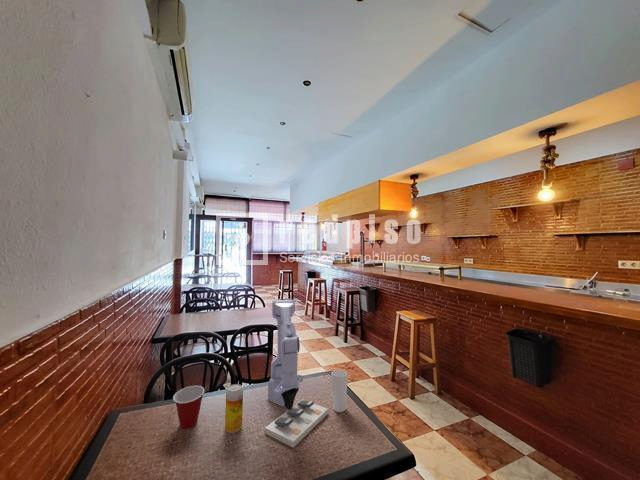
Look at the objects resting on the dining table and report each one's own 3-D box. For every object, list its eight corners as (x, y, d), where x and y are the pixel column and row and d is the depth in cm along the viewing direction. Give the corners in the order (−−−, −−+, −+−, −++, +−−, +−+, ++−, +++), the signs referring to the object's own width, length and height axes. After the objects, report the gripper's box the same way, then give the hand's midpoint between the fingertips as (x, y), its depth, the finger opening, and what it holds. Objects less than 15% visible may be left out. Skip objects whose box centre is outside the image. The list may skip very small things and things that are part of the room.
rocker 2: (287, 414, 106) (286, 411, 106) (292, 410, 109) (291, 407, 109) (299, 416, 103) (298, 413, 103) (304, 412, 106) (303, 409, 106)
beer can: (236, 435, 97) (238, 392, 98) (221, 432, 99) (222, 390, 99) (244, 424, 103) (246, 384, 104) (230, 422, 104) (231, 382, 105)
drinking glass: (347, 405, 117) (347, 369, 118) (347, 414, 111) (347, 377, 111) (332, 404, 118) (331, 369, 119) (330, 413, 111) (330, 376, 112)
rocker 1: (274, 424, 100) (274, 421, 100) (280, 419, 103) (280, 416, 103) (287, 426, 97) (287, 423, 97) (293, 421, 100) (292, 418, 100)
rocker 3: (297, 406, 112) (297, 403, 112) (302, 402, 115) (301, 399, 115) (309, 407, 109) (309, 404, 109) (313, 403, 111) (313, 401, 112)
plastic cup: (165, 428, 100) (166, 395, 101) (191, 413, 110) (192, 383, 110) (184, 438, 95) (185, 403, 96) (209, 421, 105) (210, 389, 105)
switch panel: (264, 433, 99) (265, 426, 99) (302, 403, 118) (302, 397, 118) (293, 447, 92) (293, 440, 92) (327, 413, 111) (327, 407, 111)
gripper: (285, 381, 91) (284, 422, 91) (309, 366, 103) (309, 402, 103) (269, 375, 95) (268, 415, 94) (295, 361, 107) (294, 396, 107)
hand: (288, 408), depth 99 cm, fingers closed
